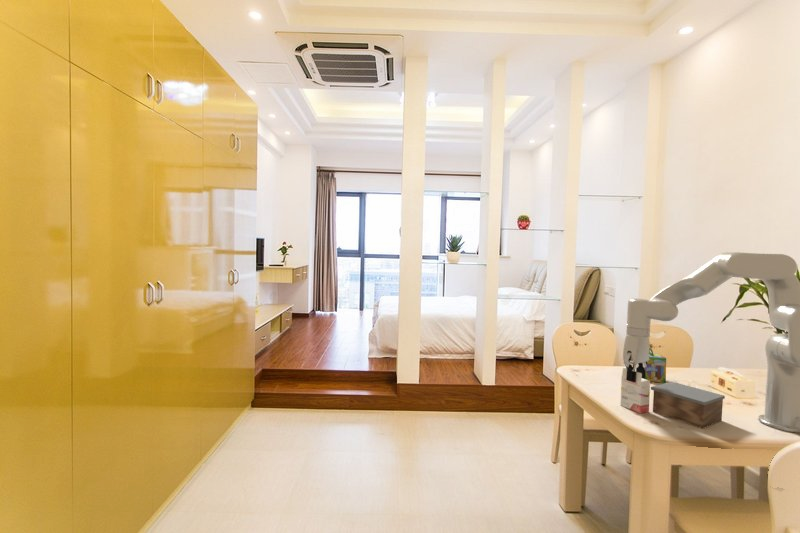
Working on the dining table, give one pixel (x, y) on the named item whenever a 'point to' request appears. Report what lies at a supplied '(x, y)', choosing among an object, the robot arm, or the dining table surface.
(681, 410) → the box
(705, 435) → the dining table surface
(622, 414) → the dining table surface
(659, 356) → the chalk box
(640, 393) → the ink cartridge box
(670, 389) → the lid
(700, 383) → the dining table surface
